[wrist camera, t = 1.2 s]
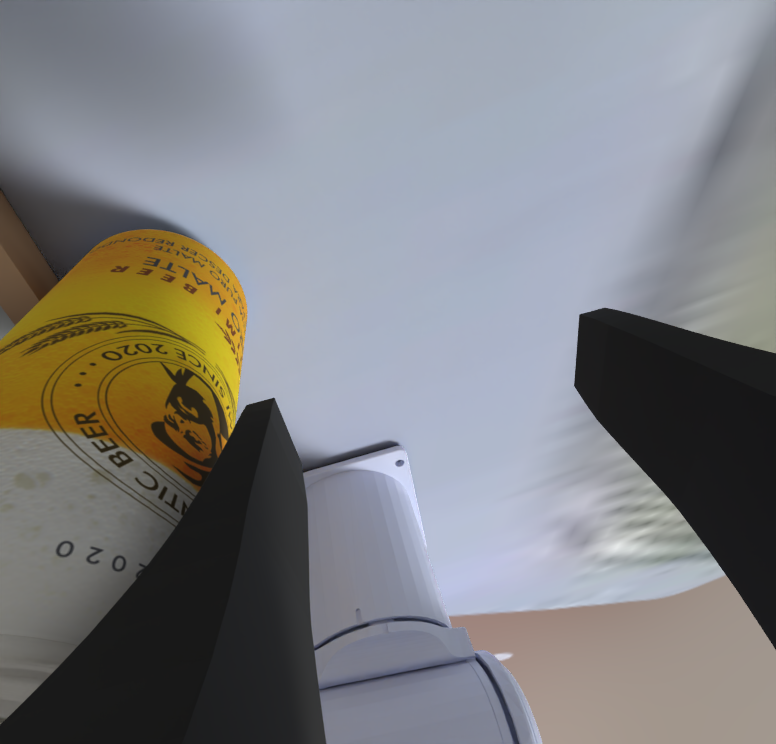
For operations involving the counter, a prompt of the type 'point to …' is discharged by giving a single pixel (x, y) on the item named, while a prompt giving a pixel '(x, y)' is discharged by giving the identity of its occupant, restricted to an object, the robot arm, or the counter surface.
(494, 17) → the counter surface
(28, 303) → the bar
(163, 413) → the beer can
